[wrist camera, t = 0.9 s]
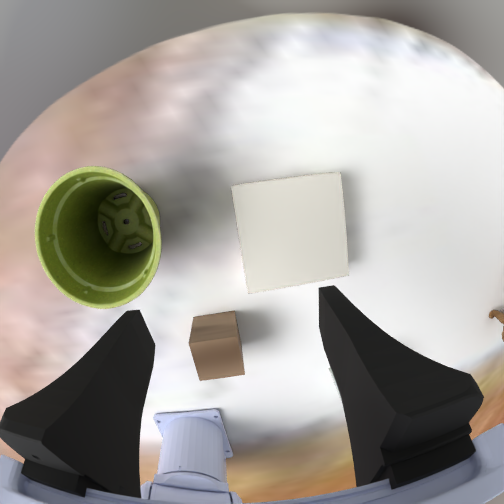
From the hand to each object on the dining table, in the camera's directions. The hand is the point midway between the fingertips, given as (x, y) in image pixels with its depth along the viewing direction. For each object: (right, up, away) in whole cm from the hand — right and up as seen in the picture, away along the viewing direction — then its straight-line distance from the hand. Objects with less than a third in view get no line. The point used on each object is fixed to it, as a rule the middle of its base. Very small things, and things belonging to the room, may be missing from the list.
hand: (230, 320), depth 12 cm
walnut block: (-2, -5, +18) cm, 18 cm away
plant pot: (-10, +6, +14) cm, 18 cm away
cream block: (+4, +5, +16) cm, 17 cm away
